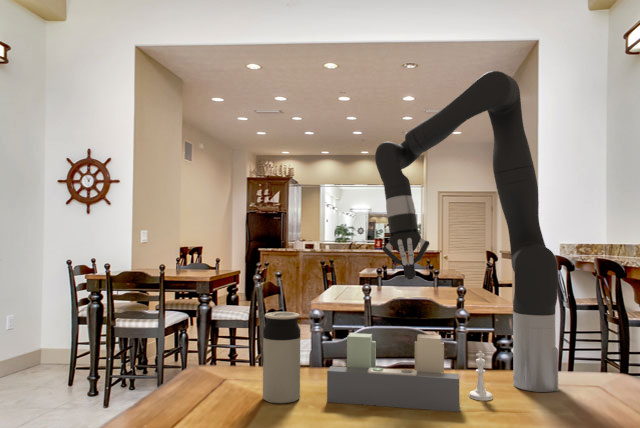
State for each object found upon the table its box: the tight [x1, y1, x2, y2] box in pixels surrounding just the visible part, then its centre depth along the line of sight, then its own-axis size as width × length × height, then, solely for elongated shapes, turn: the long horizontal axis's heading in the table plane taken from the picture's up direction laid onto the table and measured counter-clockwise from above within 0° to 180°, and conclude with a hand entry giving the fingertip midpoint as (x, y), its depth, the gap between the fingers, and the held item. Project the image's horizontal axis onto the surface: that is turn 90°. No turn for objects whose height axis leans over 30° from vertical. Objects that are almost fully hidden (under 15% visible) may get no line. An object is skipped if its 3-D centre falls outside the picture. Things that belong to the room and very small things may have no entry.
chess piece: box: [468, 350, 493, 402], centre depth 116 cm, size 5×5×10 cm
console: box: [326, 365, 460, 413], centre depth 115 cm, size 27×12×7 cm, turn 78°
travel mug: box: [262, 311, 301, 405], centre depth 114 cm, size 8×8×18 cm
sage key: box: [346, 332, 377, 368], centre depth 118 cm, size 6×5×11 cm
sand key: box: [414, 333, 445, 373], centre depth 117 cm, size 6×5×11 cm
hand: (410, 279), depth 139 cm, fingers closed
